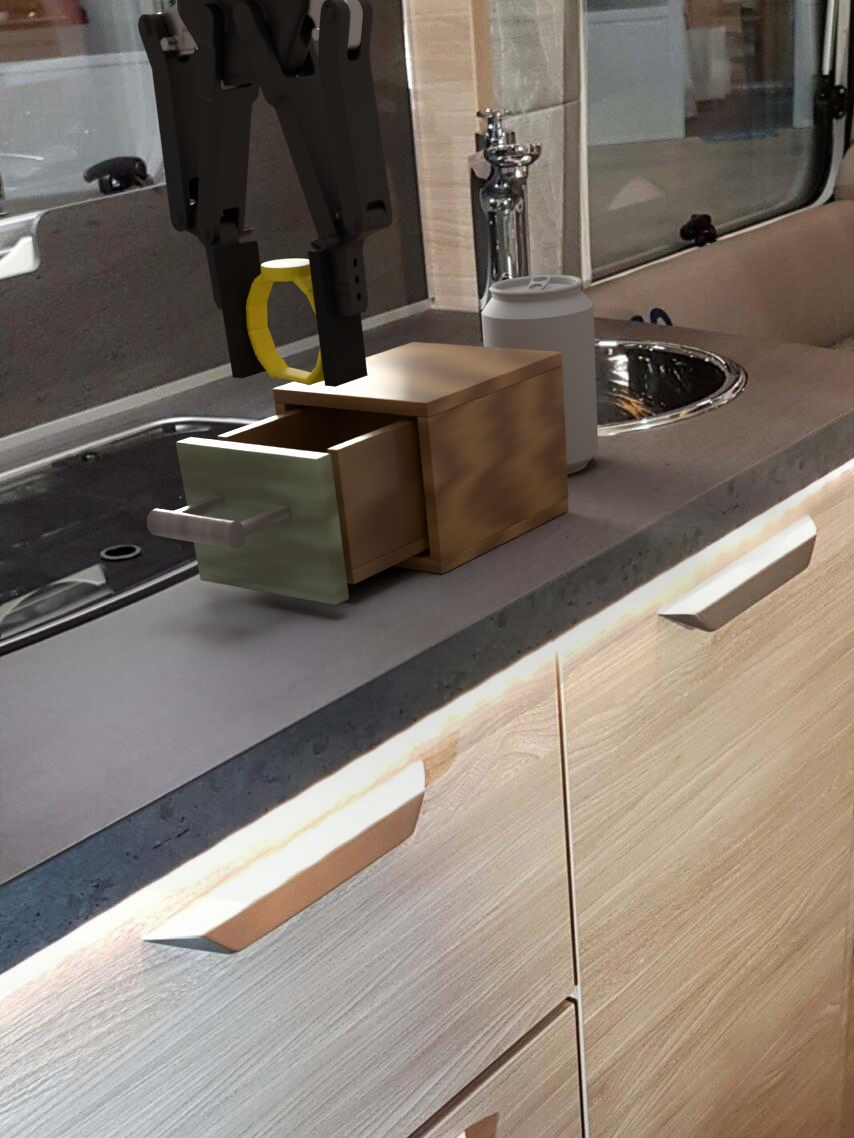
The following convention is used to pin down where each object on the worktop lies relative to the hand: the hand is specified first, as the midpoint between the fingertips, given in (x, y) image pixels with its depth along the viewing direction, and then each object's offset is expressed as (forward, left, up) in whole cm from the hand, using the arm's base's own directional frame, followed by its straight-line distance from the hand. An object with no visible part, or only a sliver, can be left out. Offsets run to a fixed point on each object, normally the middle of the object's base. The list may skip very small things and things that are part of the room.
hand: (299, 375), depth 85 cm
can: (+6, +25, -12) cm, 28 cm away
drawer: (0, -1, -10) cm, 11 cm away
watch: (0, 0, 0) cm, 0 cm away
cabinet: (+3, +10, -11) cm, 15 cm away
